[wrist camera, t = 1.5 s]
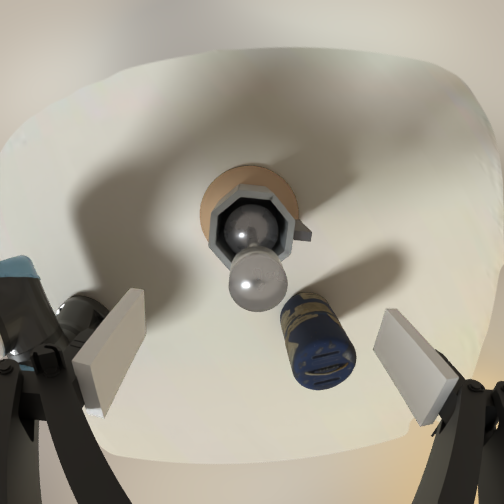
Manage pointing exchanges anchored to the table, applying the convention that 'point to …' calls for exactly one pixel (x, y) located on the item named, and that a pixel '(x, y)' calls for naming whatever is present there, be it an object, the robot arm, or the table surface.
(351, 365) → the canister
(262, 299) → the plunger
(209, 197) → the press carafe
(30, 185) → the table surface
